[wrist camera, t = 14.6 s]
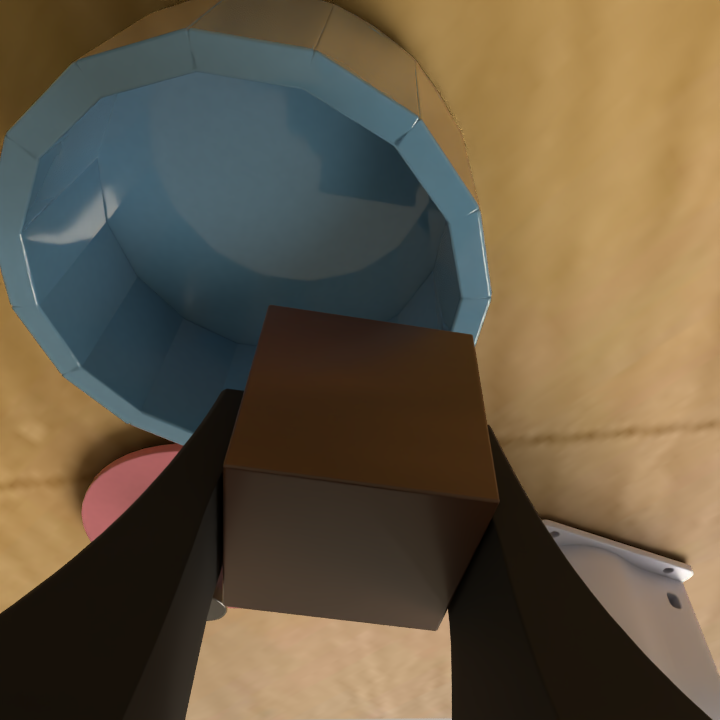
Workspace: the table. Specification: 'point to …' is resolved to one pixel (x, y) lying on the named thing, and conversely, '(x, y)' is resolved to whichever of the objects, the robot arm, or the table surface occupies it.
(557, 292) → the table surface
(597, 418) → the table surface
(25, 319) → the bowl
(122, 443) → the table surface
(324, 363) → the block
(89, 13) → the table surface
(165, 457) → the lid
